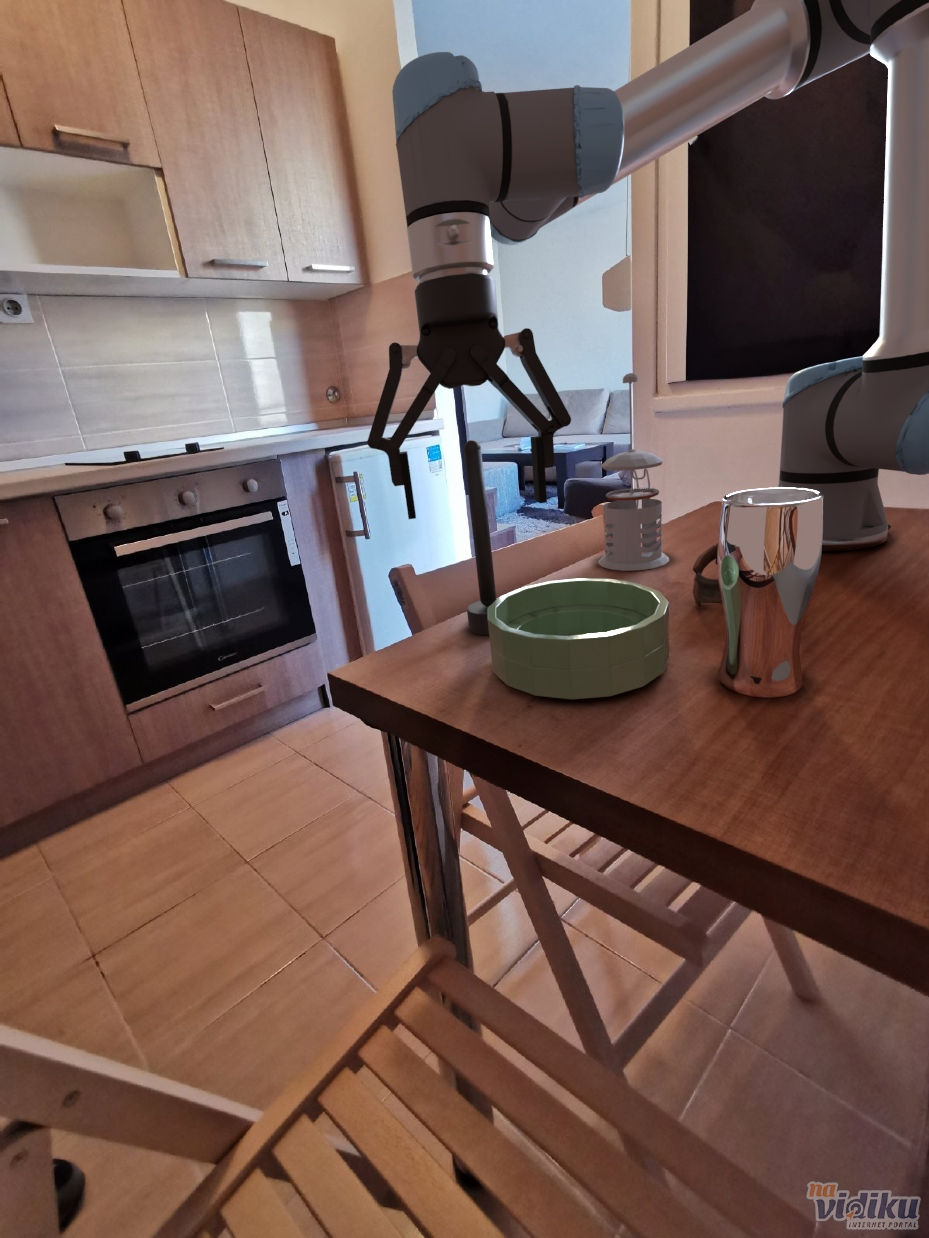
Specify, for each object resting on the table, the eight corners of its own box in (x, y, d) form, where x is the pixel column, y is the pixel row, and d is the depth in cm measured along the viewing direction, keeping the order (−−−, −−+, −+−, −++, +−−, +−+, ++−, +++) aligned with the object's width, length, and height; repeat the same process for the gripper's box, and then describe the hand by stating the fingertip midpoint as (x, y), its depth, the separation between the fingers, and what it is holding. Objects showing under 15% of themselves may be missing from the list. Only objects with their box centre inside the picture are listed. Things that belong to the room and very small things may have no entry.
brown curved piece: (816, 618, 59) (790, 558, 55) (724, 657, 63) (694, 603, 59) (770, 558, 69) (745, 504, 65) (692, 595, 72) (665, 546, 69)
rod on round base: (519, 619, 67) (503, 435, 60) (503, 636, 63) (484, 440, 56) (479, 617, 69) (459, 439, 62) (461, 634, 65) (438, 444, 58)
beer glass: (733, 655, 52) (742, 486, 47) (821, 674, 48) (840, 487, 42) (698, 686, 48) (702, 503, 43) (790, 710, 43) (807, 506, 38)
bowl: (676, 638, 57) (677, 579, 55) (653, 717, 44) (652, 645, 42) (525, 629, 64) (521, 577, 62) (467, 696, 51) (458, 632, 49)
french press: (589, 569, 83) (580, 378, 74) (612, 548, 92) (607, 376, 83) (661, 571, 78) (661, 368, 69) (678, 549, 87) (679, 367, 79)
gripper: (312, 285, 50) (354, 530, 57) (598, 256, 51) (604, 499, 59) (324, 301, 57) (360, 517, 64) (575, 274, 58) (583, 490, 66)
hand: (476, 509), depth 62 cm, fingers open, 13 cm apart
